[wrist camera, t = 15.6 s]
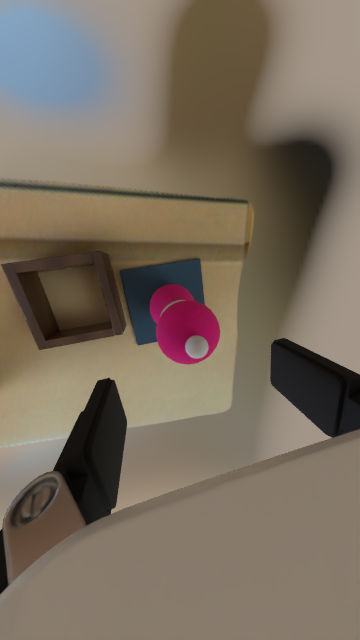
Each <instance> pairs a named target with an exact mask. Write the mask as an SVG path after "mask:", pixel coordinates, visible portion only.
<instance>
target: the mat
mask: <svg viewBox="0 0 360 640" xmlns="http://www.w3.org/2000/svg"><path fill="white" fill-rule="evenodd" d="M120 274H121V278H122V282H123V287H124V291H125V295H126V299H127V303H128V307H129V311H130V315H131V319H132V324H133V328H134V332H135V336H136V340H137V344H138V345H142V344H147V343H152V342H157V337H156V327H157V323H156V322H155V321H154V320H153V318H152V316H151V313H150V301H151V298H152V296H153V294H154V293H155V292H156V291H157V290H158V289H159V288H161V287H163V286H165V285H169V284H176V285H180V286H182V287H184V288H186V289H187V290H188V291H189V292H190V294H191V295H192V296H193V298H194V301H196V302H199V303H201V304H203V305H205V304H204V294H203V284H202V274H201V264H200V259H195V260H188V261H181V262H174V263H167V264H161V265H154V266H147V267H140V268H134V269H127V270H120Z"/></svg>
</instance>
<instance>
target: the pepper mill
mask: <svg viewBox="0 0 360 640" xmlns="http://www.w3.org/2000/svg"><path fill="white" fill-rule="evenodd" d="M150 313H151V316H152V318H153V320H154V321H155V322H156V323H157V327H156V337H157V341H158V344H159V347H160V348H161V350H162V352H163V353H164V354H165V355H166V356H167V357H168V358H170V359H171V360H173V361H175V362H177V363H181V364H195V363H198V362H200V361H202V360H204V359H206V358H207V357H209V356H210V355H211V354H212V352H213V351H214V350H215V348H216V346H217V344H218V341H219V338H220V328H219V323H218V321H217V319H216V316H215V315H214V314H213V312H212V311H211V310H210V309H209V308H208V307H207V306H205V305H203V304H201V303H199V302H196V301H194V298H193V296H192V295H191V294H190V292H189V291H188V290H187V289H186V288H184V287H182V286H180V285H176V284H169V285H165V286H163V287H161V288H159V289H158V290H157V291H156V292H155V293H154V294H153V296H152V298H151V301H150Z"/></svg>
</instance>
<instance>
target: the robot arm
mask: <svg viewBox="0 0 360 640" xmlns="http://www.w3.org/2000/svg"><path fill="white" fill-rule="evenodd" d="M270 378H271V384H272V385H273V386H274V387H275V388H276V389H277V390H278V391H279V392H280V393H281V394H282V395H283V396H284V397H286V398H287V399H288V400H289V401H290V402H291V403H292V404H293V405H294V406H295V407H296V408H298V409H299V410H300V411H301V412H302V413H303V414H304V415H305V416H306V417H307V418H308V419H310V420H311V421H312V422H313V423H314V424H315V425H316V426H317V427H318V428H320V429H321V430H322V431H323V432H324V433H325V434H326V435H328V436H331V437H332V438H331V439H328V440H325V441H321V442H319V443H315V444H312V445H309V446H306V447H303V448H300V449H297V450H294V451H291V452H288V453H285V454H282V455H279V456H276V457H273V458H270V459H267V460H264V461H261V462H258V463H255V464H252V465H249V466H246V467H243V468H240V469H237V470H234V471H231V472H228V473H225V474H222V475H219V476H216V477H213V478H210V479H207V480H204V481H202V482H198V483H195V484H193V485H189V486H187V487H184V488H181V489H178V490H175V491H172V492H169V493H166V494H163V495H161V496H158V497H155V498H152V499H150V500H147V501H144V502H142V503H139V504H136V505H133V506H130V507H128V508H125V509H123V510H120V511H118V512H115V513H113V514H111V509H113V508H115V506H116V502H117V495H118V488H119V480H120V473H121V465H122V458H123V450H124V443H125V435H126V428H127V419H126V416H125V412H124V409H123V406H122V403H121V400H120V396H119V393H118V390H117V387H116V384H115V381H114V380H111V379H110V378H107V379H103V380H99V381H97V383H96V385H95V388H94V390H93V392H92V394H91V396H90V399H89V401H88V403H87V405H86V407H85V409H84V411H82V412H81V413H80V415H79V417H78V419H77V421H76V423H75V425H74V427H73V429H72V432H71V434H70V436H69V438H68V440H67V442H66V444H65V446H64V449H63V451H62V453H61V455H60V457H59V459H58V461H57V463H56V465H55V467H54V470H53V471H51V472H47V473H45V474H43V475H41V476H39V477H37V478H36V479H34V480H33V481H32V482H30V483H29V484H28V485H27V486H26V487H25V488H24V489H23V490H22V491H21V492H20V493H19V494H18V495H17V496H16V498H15V499H14V500H13V502H12V503H11V505H10V506H9V508H8V510H7V512H6V514H5V517H4V519H3V527H2V529H1V531H0V640H360V375H359V374H357V373H355V372H353V371H351V370H349V369H347V368H345V367H343V366H341V365H339V364H337V363H335V362H333V361H330V360H329V359H327V358H324V357H322V356H320V355H318V354H316V353H314V352H312V351H310V350H308V349H306V348H304V347H302V346H300V345H298V344H296V343H294V342H292V341H290V340H288V339H285V338H282V339H278V340H274V342H273V343H272V345H271V377H270Z"/></svg>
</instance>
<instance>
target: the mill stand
mask: <svg viewBox="0 0 360 640" xmlns="http://www.w3.org/2000/svg"><path fill="white" fill-rule="evenodd" d="M1 265H2V267H3V270H4V272H5V274H6V276H7V279H8V281H9V283H10V285H11V288H12V290H13V292H14V294H15V297H16V299H17V301H18V303H19V306H20V308H21V310H22V312H23V315H24V317H25V319H26V321H27V324H28V326H29V328H30V330H31V333H32V335H33V337H34V339H35V342H36V344H37V346H38V348H39V350H43V349H48V348H53V347H58V346H63V345H69V344H74V343H79V342H84V341H90V340H95V339H100V338H105V337H110V336H115V335H120V334H123V332H124V330H125V328H126V322H125V318H124V314H123V310H122V306H121V302H120V298H119V294H118V290H117V286H116V282H115V279H114V275H113V271H112V267H111V263H110V259H109V255H108V254H106V253H104V252H101V251H98V252H92V253H91V252H90V253H83V254H75V255H68V256H60V257H53V258H45V259H38V260H30V261H22V262H15V263H7V264H1ZM88 265H95V267H96V271H97V275H98V278H99V282H100V285H101V289H102V292H103V296H104V299H105V303H106V306H107V310H108V313H109V317H110V320H111V322H106V323H101V324H95V325H90V326H84V327H79V328H73V329H68V330H62V331H60V330H59V327H58V325H57V322H56V320H55V317H54V314H53V312H52V309H51V307H50V304H49V301H48V299H47V296H46V294H45V291H44V289H43V286H42V283H41V281H40V278H39V276H38V272H45V271H52V270H60V269H67V268H74V267H81V266H88Z"/></svg>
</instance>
